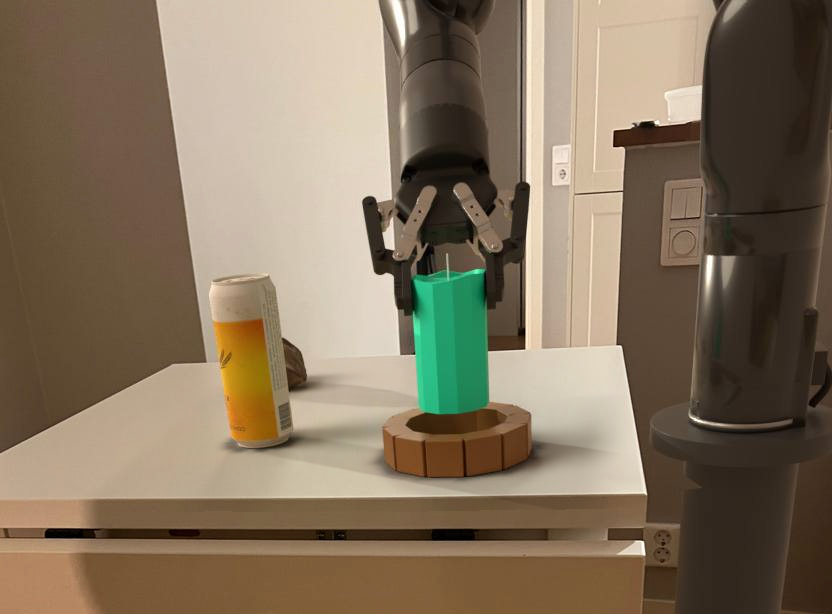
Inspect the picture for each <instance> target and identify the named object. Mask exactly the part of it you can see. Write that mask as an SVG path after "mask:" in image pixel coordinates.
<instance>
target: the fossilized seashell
mask: <svg viewBox="0 0 832 614" xmlns="http://www.w3.org/2000/svg"><path fill="white" fill-rule="evenodd" d="M282 342H283V350H284V358H285V366H286V374H287V382H288V389H289V388H293V387H295V386H298V385H301V384H303V383H306V382H307V381H308V373H307V368H306V365H305V359H304V356H303V353H302V351H301V350H300V349H299V348H298V347H297V346H296V345H295V344H293V343H292V342H291V341H289V340H288V339H287V338H285V337H283V336H282Z"/></svg>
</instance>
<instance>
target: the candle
mask: <svg viewBox="0 0 832 614" xmlns="http://www.w3.org/2000/svg"><path fill="white" fill-rule="evenodd" d="M445 254H446V255H445V256H446V269H443V270H441V271H438V272H434V273H431V274H428V275H423V274H414V275H412V278H411V286H412V303H413V316H412V321H413V322H412V323H413V336H414V337H413V338H414V352H415V370H416V385H417V387H416V388H417V399H418V401H417V402H418V408H420V409H421V410H423V411H424V412H428V413H435V414H459V413H465V412H471V411H476V410H478V409H481V408H483V407H486V406H487V405H488V403H489V402H490V382H489V381H490V379H489V377H490V375H489V370H490V369H489V340H488V338H489V336H488V335H489V334H488V310H487V301H486V270H485V268H484V269H483V268H475V269H472V270H469V271H466V272H459V271H453V270H450V263H449V253H445Z"/></svg>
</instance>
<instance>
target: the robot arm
mask: <svg viewBox="0 0 832 614" xmlns="http://www.w3.org/2000/svg"><path fill="white" fill-rule="evenodd" d="M377 1H378V6H379V11H380V16H381V18H382V22H383V25H384V28H385V31H386V33H387V36H388V38H389V40H390V42H391V45H392V47H393V50H394V53H395V56H396V59H397V62H398V65H399V92H400V93H399V95H400V100H399V105H398V114H397V129H398V133H397V135H398V136H397V138H398V139H397V142H398V143H397V144H398V174H399V187H398V190H397V191H396V193H395V195H394V197H393V198H392V199H387V200H382V201H377V198H376V197H375V196H373V195H367V196H365V197H363V199H362V201H361V205H362V213H363V219H364V224H365V231H366V236H367V241H368V247H369V251H370V258H371V264H372V269H373V273H374V274H375V275H377V276H383V275H385V274H389V275H391V276H392V277H393V297H394V304H395V307H396V309H397V311H402V310H403V316H404V317H413V303H412V286H411V278H412V277H413V275H412V271H413V269H414V268H415V266H416V264H417V263H418V261H420V260H422V257H423V255H424V253H425V251H426V249H427V247H438V246H441V245H442V246H443V245H444V244H452V245H453V244H454V245H460V244H461V245H463V244H468V246H469V247H470V248H471V250H472V251H473V253H474V254H475V255H476V256H479V257H480V259H481V260H482V262H483V264H484V270H486V301H487V311H488V310H489V311H491V310H496V309H497V303H502V302H503V300H504V297H505V272H504V267H505V266H507V265H508V264H510V263H512V264H514V265H518V264H521V263H522V262H524V259H525V254H526V253H525V252H526V244H527V243H526V242H527V233H528V232H527V229H528V221H529V210H530V199H531V185H530V183H529V182H528V181H519V182H517V183H516V184H515V187H514V189H512V188H511V189H510V188H509V189H507V188H498V187H497V185H496V184H495V183H494V181H493V180H492V177H491V165H490V164H491V163H490V147H489V128H488V127H489V126H488V115H487V114H488V113H487V111H488V110H487V105H486V99H485V96H484V91H483V81H482V61H481V60H482V59H481V48H480V44H479V43H480V42H479V40H478V36H480V35H481V33H482V32H483V31H484V30H485V29H486V27H487V25H488V24H489V22H490V21H491V18H492V15H493V13H494V9H495V5H496V0H377ZM712 3H713V6H714V9H715V12H716V13H715V15H714V17H713V19H712V22H711V25H710V26H709V27H710V28H709V31H708V34H707V39H706V43H705V50H704V57H703V65H702V66H703V68H702V79H701V81H702V83H701V101H700V102H701V103H700V105H701V106H700V128H699V129H700V131H699V133H700V134H699V138H700V139H699V173H700V177H701V182H702V186H703V207H702V211H703V212H702V220H701V221H702V222H701V238H700V252H699V267H698V284H697V298H696V311H695V313H696V314H695V328H694V343H693V357H692V358H693V359H692V373H691V386H690V387H691V389H690V396H689V401H690V409H689V415H688V420H689V422H690V423H691V424H692V425H694V426H696V427H699V428H702V429H706V430H710V431H716V432H725V433H743V434H745V433H765V432H773V431H779V430H784V429H788V428H795V427H806V420H807V412H808V405H809V406H811V407H813V408H815V407H816V406H817V404H820V403H821V402H822V400H823V399H824V398H825V397H826V396H827V395H828V394H829V392H830V391H831V388H832V368H831V367H830V363H829V361H828V358H829V350H828V349H827V347H826V346H825V345H824V344H823V342H822V341H821V340H817V337H818V336H817V335H818V330H819V323H820V322H819V321H820V310H819V308H817V307H816V303H817V302H816V301H817V293H818V285H819V277H820V269H821V268H820V267H821V260H822V252H823V243H824V235H825V227H826V218H827V210H828V204H827V203H828V202H829V195H830V194H829V193H830V188H831V187H830V186H831V178H832V167H831V160H830V129H831V119H832V0H712ZM497 207H499V208H500V209H501V210H502V211H503V216H504V217H505V218H507V220H508V221H510V222H511V225H510V235H509V237H508V238H504V239H502V240H501V239H500V237H499V235H498V234H497V232H496V230H494V228H493V225H492V222H491V219H490V216H491V215H492V214H493V212H494V211H495V210H496V208H497ZM394 217H396V218H397V219H398V220H399V221H400V222H401V223H402V224H403V225H404V226H403V229H402V234H401V237H400V239H399V241H398V242H397V245H396V246H395V248H394V249H390V248H386V245H385V238H384V233H385V232H387V229H388V228H389V227H390V225H391V220H392V218H394ZM812 386H820V388H819V389H818V390H817V391H816V393H815V394H813V396H812V397H811V398H810V395H811V387H812Z"/></svg>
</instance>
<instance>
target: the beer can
mask: <svg viewBox="0 0 832 614" xmlns="http://www.w3.org/2000/svg"><path fill="white" fill-rule="evenodd" d="M210 283H211V286H210V289H209V293H208V298H209V299H208V300H209V304H210V305H209V306H210V311H211V317H212V322H213V331H214V336H215V342H216V350H217V356H218V362H219V368H220V374H221V381H222V388H223V394H224V400H225V407H226V412H227V419H228V425H229V432H230V437H231V438H232V440H234V441H235V442H237V445H238V446H239V447H241V448H245V449H264V448H270V447H274V446H278V445H281V444H284V443H285V442H287V441H288V440H289V439H290V435H291V434H292V432H293V431H294V423H293V415H292V406H291V399H290V398H291V397H290V392H289V388H288V382H287V374H286V366H285V358H284V350H283V342H282V337H283V335H282V328H281V320H280V313H279V304H278V297H277V289H276V286H275V284H274V282H273V281H272V279H271V277H270V274H269V273H263V272H260V273H259V272H258V273H245V274H235V275H228V276H223V277H218V278H215V279H212V280H211V282H210Z"/></svg>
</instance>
